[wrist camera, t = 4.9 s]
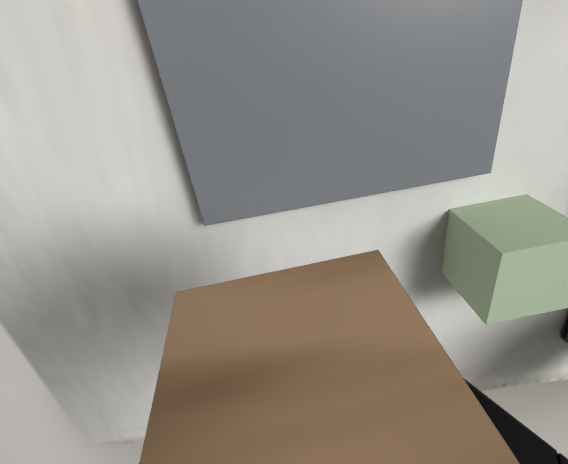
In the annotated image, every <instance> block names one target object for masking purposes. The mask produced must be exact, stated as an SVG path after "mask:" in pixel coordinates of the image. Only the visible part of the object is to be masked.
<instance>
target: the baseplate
mask: <svg viewBox="0 0 568 464" xmlns="http://www.w3.org/2000/svg"><path fill="white" fill-rule="evenodd" d="M137 1H138V4H139V7H140V11H141V14H142V17H143V21H144V24H145V27H146V31H147V34H148V37H149V41H150V44H151V48H152V51H153V54H154V58H155V61H156V64H157V68H158V71H159V74H160V78H161V81H162V84H163V88H164V91H165V95H166V98H167V101H168V105H169V108H170V111H171V115H172V118H173V121H174V125H175V128H176V131H177V135H178V138H179V142H180V145H181V148H182V152H183V155H184V158H185V162H186V165H187V168H188V172H189V175H190V178H191V182H192V185H193V189H194V192H195V195H196V199H197V202H198V205H199V209H200V212H201V215H202V219H203V222H204V225H205V226H206V225H211V224H217V223H222V222H228V221H233V220H239V219H244V218H249V217H255V216H260V215H266V214H271V213H276V212H282V211H287V210H293V209H298V208H303V207H309V206H314V205H320V204H325V203H330V202H336V201H341V200H347V199H352V198H358V197H363V196H368V195H374V194H379V193H385V192H390V191H395V190H401V189H406V188H412V187H417V186H422V185H428V184H433V183H439V182H444V181H450V180H455V179H460V178H466V177H471V176H477V175H482V174H487V173H491V168H492V163H493V157H494V152H495V146H496V141H497V136H498V130H499V125H500V119H501V114H502V109H503V103H504V98H505V92H506V87H507V82H508V76H509V71H510V65H511V60H512V55H513V49H514V44H515V38H516V33H517V28H518V22H519V17H520V11H521V6H522V1H523V0H137Z"/></svg>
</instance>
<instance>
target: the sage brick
mask: <svg viewBox="0 0 568 464" xmlns="http://www.w3.org/2000/svg"><path fill="white" fill-rule="evenodd" d="M441 273H442V274H443V275H444V276H445V277H446V279H447V280H448V281H449V282H450V283H451V284H452V286H453V287H454V288H455V289H456V290H457V291H458V293H459V294H460V295H461V296H462V297H463V298H464V300H465V301H466V302H467V303H468V304H469V305H470V307H471V308H472V309H473V310H474V311H475V312H476V314H477V315H478V316H479V317H480V318H481V319H482V321H483V322H484V323H485V324H486V325H487V324H492V323H497V322H502V321H507V320H512V319H517V318H521V317H526V316H531V315H536V314H541V313H546V312H551V311H556V310H561V309H565V308H568V218H567V217H566V216H564V215H562V214H560V213H559V212H557V211H555V210H553V209H552V208H550V207H548V206H546V205H544V204H543V203H541V202H539V201H537V200H536V199H534V198H532V197H530V196H529V195H527V194H526V195H521V196H515V197H510V198H505V199H500V200H494V201H489V202H484V203H479V204H473V205H468V206H463V207H458V208H453V209H449V215H448V223H447V231H446V239H445V248H444V256H443V264H442V272H441Z"/></svg>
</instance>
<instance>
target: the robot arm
mask: <svg viewBox="0 0 568 464" xmlns="http://www.w3.org/2000/svg"><path fill="white" fill-rule="evenodd" d="M561 338H562V339H563V340H564V341H565V342H568V320H567V323H566V325H565V328H564V330H563V333H562V335H561ZM463 379H464V378H463ZM464 380H465V379H464ZM465 382H466V383H467V385H468V386H469V388H470V389H471V391H472V392H473V394H474V395H475V397H476V398H477V400H478V401H479V403H480V404H481V406H482V407H483V409H484V410H485V412H486V414H487V415H488V417H489V418H490V420H491V421H492V423H493V424H494V426H495V427H496V429H497V430H498V432H499V433H500V435H501V436H502V438H503V439H504V441H505V442H506V444H507V445H508V447H509V448H510V450H511V451H512V453H513V454H514V456H515V457H516V459H517V460H518V462H519V463H520V464H568V459H567V458H566V457H565V456H563V455H562V454H560V453H558V454H557V451H556V450H555V449H554V448H553V447H551V446H550V445H549V444H548V443H546V442H545V441H544V440H542V439H541V438H540V437H539V436H537V435H536V434H535V433H533V432H532V431H531V430H529V429H528V428H527V427H526V426H524V425H523V424H522V423H521V422H519V421H518V420H517V419H515V418H514V417H513V416H512V415H510V414H509V413H508V412H506V411H505V410H504V409H502V408H501V407H500V406H499V405H497V404H496V403H495V402H494V401H492V400H491V399H490V398H488V397H487V396H486V395H485V394H483V393H482V392H481V391H479V390H478V389H477V388H476V387H474V386H473V385H472V384H470V383H469V382H468V381H467V380H465ZM139 464H140V463H139Z"/></svg>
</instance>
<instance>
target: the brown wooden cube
mask: <svg viewBox="0 0 568 464" xmlns="http://www.w3.org/2000/svg"><path fill="white" fill-rule="evenodd" d="M140 464H520V463H519V462H518V460H517V459H516V457H515V456H514V454H513V453H512V451H511V450H510V448H509V447H508V445H507V444H506V442H505V441H504V439H503V438H502V436H501V435H500V433H499V432H498V430H497V429H496V427H495V426H494V424H493V423H492V421H491V420H490V418H489V417H488V415H487V414H486V412H485V410H484V409H483V407H482V406H481V404H480V403H479V401H478V400H477V398H476V397H475V395H474V394H473V392H472V391H471V389H470V388H469V386H468V385H467V383H466V382H465V380H464V379H463V377H462V376H461V374H460V373H459V371H458V370H457V368H456V367H455V365H454V364H453V362H452V361H451V359H450V358H449V356H448V355H447V353H446V352H445V350H444V349H443V347H442V346H441V344H440V343H439V341H438V340H437V338H436V336H435V335H434V333H433V332H432V330H431V329H430V327H429V326H428V324H427V323H426V321H425V320H424V318H423V317H422V315H421V314H420V312H419V311H418V309H417V308H416V306H415V305H414V303H413V302H412V300H411V299H410V297H409V296H408V294H407V293H406V291H405V290H404V288H403V287H402V285H401V284H400V282H399V281H398V279H397V278H396V276H395V275H394V273H393V272H392V270H391V269H390V267H389V266H388V264H387V262H386V261H385V259H384V258H383V256H382V255H381V253H380V252H379V250H375V251H370V252H366V253H361V254H356V255H351V256H347V257H342V258H337V259H332V260H327V261H323V262H318V263H313V264H308V265H304V266H299V267H294V268H289V269H284V270H280V271H275V272H270V273H265V274H261V275H256V276H251V277H246V278H241V279H237V280H232V281H227V282H222V283H218V284H213V285H208V286H203V287H198V288H194V289H189V290H184V291H179V292H176V296H175V300H174V305H173V310H172V314H171V319H170V324H169V328H168V333H167V338H166V342H165V347H164V352H163V356H162V361H161V366H160V370H159V375H158V380H157V384H156V389H155V394H154V398H153V403H152V408H151V412H150V417H149V422H148V426H147V431H146V436H145V440H144V445H143V450H142V454H141V460H140Z"/></svg>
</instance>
